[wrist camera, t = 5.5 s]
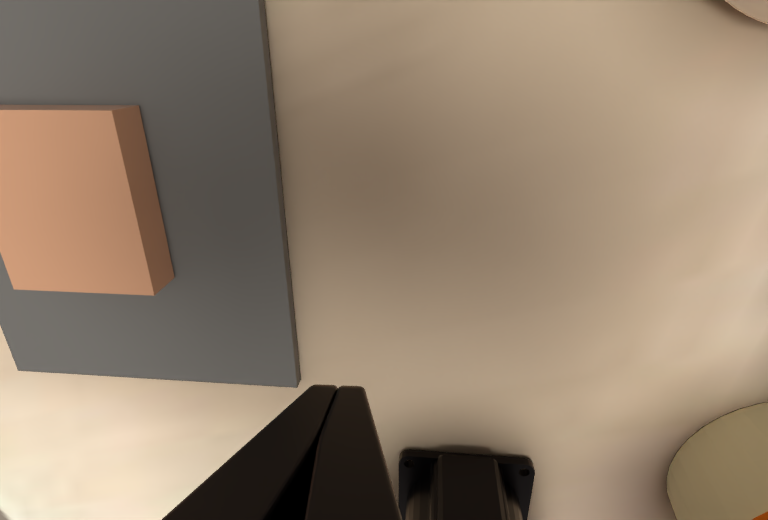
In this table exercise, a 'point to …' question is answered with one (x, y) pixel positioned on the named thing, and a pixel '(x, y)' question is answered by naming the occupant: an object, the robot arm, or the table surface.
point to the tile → (80, 201)
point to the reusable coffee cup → (723, 469)
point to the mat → (166, 189)
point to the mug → (752, 8)
